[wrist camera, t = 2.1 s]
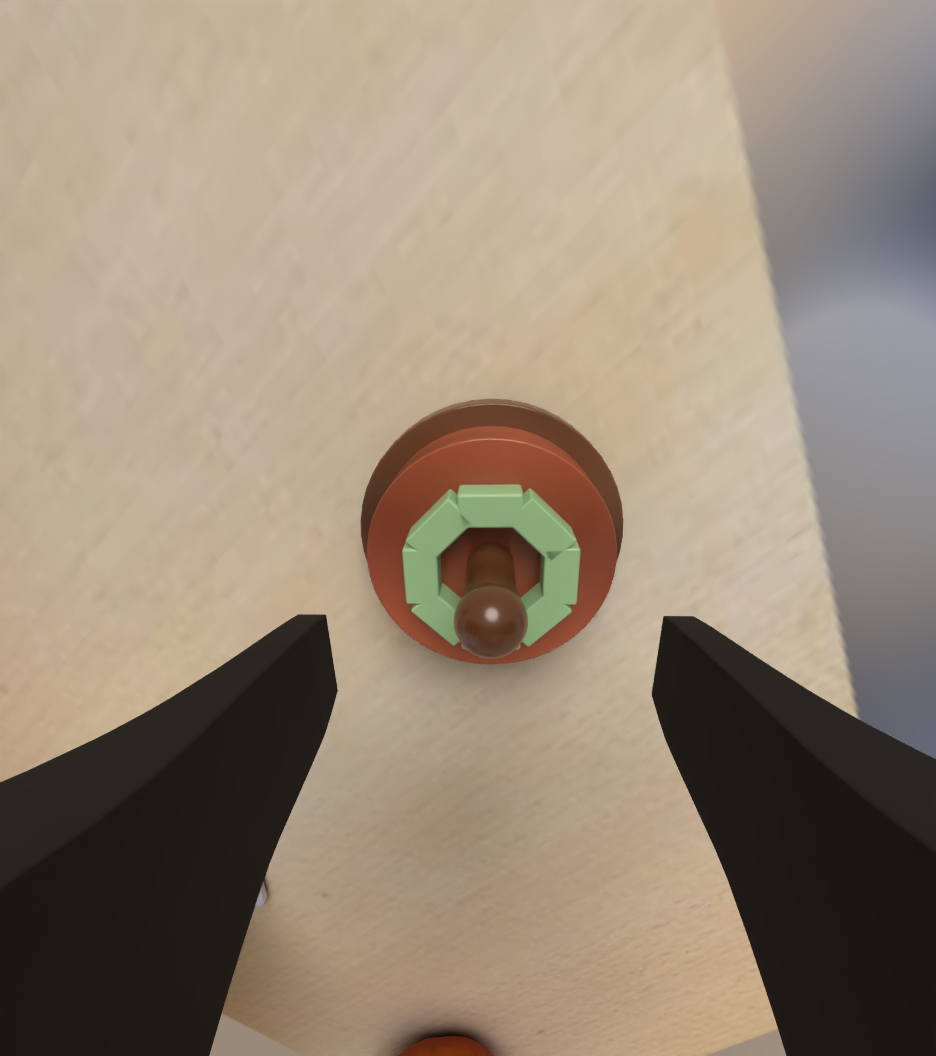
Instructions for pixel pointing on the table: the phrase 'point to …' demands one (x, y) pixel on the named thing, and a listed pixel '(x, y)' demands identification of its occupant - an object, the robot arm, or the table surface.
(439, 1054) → the fruit
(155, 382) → the table surface
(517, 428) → the stand
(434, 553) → the ring
